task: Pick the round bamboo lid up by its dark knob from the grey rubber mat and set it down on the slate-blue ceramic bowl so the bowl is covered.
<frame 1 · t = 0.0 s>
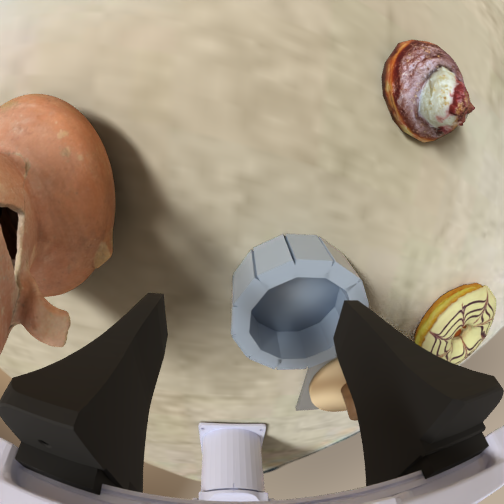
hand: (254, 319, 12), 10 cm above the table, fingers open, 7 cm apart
bamboo lid: (350, 380, 28), resting on rubber mat
ceramic jug: (43, 184, 18), on the table
bowl: (292, 290, 23), on the table
pastry: (417, 89, 17), on the table
decorated donut: (447, 318, 27), on the table
rubber mat: (349, 377, 28), on the table
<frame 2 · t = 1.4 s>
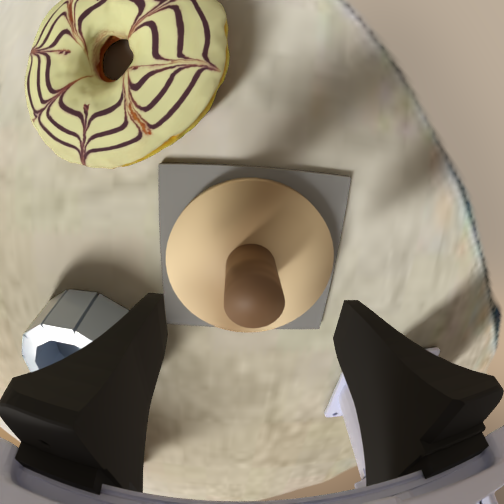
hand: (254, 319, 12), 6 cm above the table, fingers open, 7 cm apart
bamboo lid: (249, 258, 17), resting on rubber mat
bowl: (96, 342, 19), on the table
decorated donut: (131, 64, 12), on the table
rubber mat: (249, 254, 17), on the table
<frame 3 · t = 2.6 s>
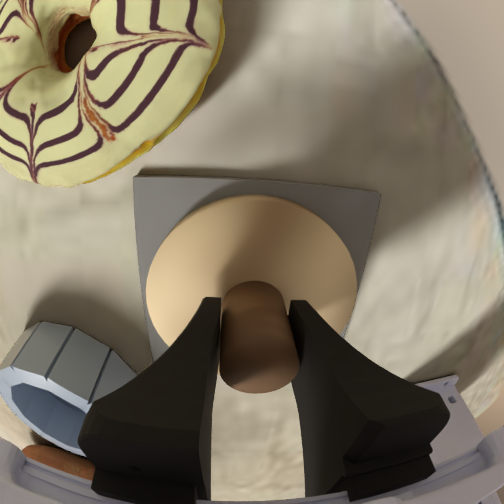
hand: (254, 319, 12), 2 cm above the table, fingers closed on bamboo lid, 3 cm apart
bamboo lid: (251, 294, 13), resting on rubber mat, touching gripper
ceramic jug: (79, 464, 24), on the table
bowl: (78, 377, 16), on the table
decorated donut: (100, 49, 9), on the table
rubber mat: (251, 289, 13), on the table
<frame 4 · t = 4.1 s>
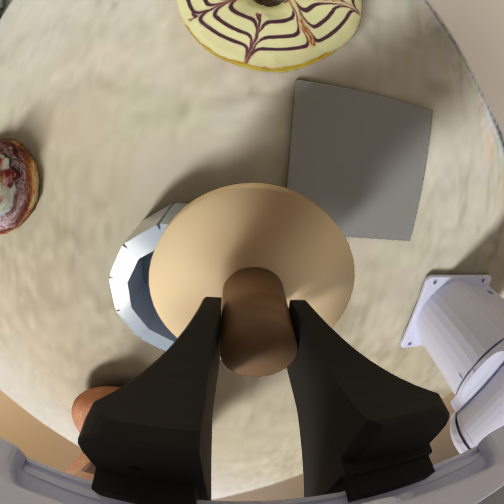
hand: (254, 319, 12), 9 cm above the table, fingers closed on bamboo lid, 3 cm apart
bamboo lid: (252, 280, 14), point 7 cm above the table, touching gripper
ceramic jug: (136, 413, 29), on the table
bowl: (192, 267, 21), on the table
pastry: (9, 182, 17), on the table
decorated donut: (265, 3, 14), on the table
rubber mat: (362, 165, 18), on the table
when the fingers open (7 cm above the table, at t = 5.4 s): bamboo lid stays where it is, resting on bowl.
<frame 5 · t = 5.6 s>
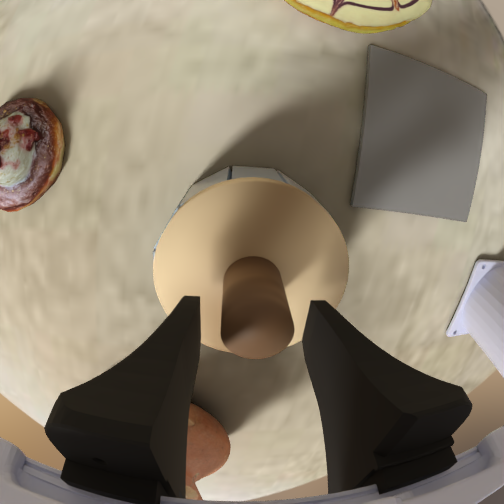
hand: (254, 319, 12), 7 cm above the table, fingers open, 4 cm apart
bamboo lid: (251, 271, 14), point 4 cm above the table, touching bowl
ceramic jug: (156, 417, 26), on the table
bowl: (247, 244, 18), on the table
pastry: (25, 151, 15), on the table
rubber mat: (428, 140, 15), on the table
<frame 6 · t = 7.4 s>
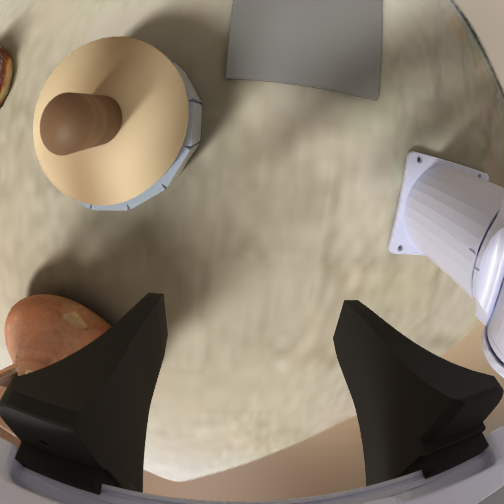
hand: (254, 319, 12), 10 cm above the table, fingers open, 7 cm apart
bamboo lid: (106, 119, 13), point 4 cm above the table, touching bowl
ceramic jug: (78, 344, 25), on the table
bowl: (130, 124, 17), on the table
rubber mat: (309, 19, 14), on the table
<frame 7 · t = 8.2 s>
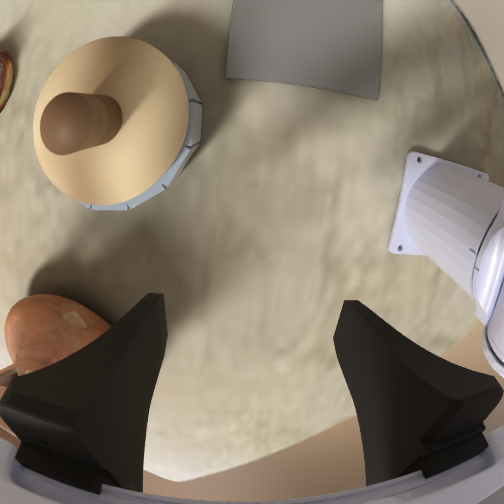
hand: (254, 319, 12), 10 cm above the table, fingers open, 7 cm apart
bamboo lid: (107, 119, 13), point 4 cm above the table, touching bowl
ceramic jug: (78, 344, 25), on the table
bowl: (131, 124, 17), on the table
rubber mat: (310, 19, 14), on the table
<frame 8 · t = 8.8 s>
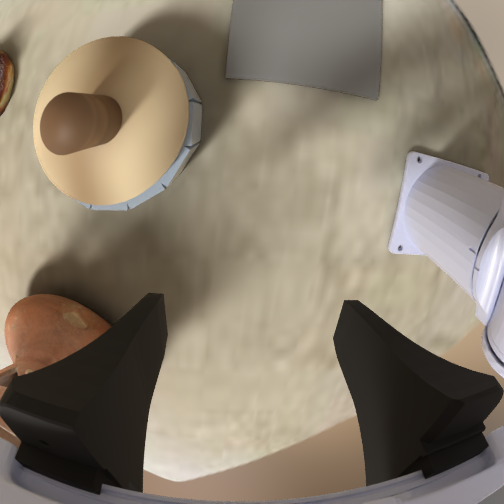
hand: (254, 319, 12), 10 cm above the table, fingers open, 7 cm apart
bamboo lid: (107, 119, 13), point 4 cm above the table, touching bowl
ceramic jug: (78, 344, 25), on the table
bowl: (131, 124, 17), on the table
rubber mat: (310, 19, 14), on the table
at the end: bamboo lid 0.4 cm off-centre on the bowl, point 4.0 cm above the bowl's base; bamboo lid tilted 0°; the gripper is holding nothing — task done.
